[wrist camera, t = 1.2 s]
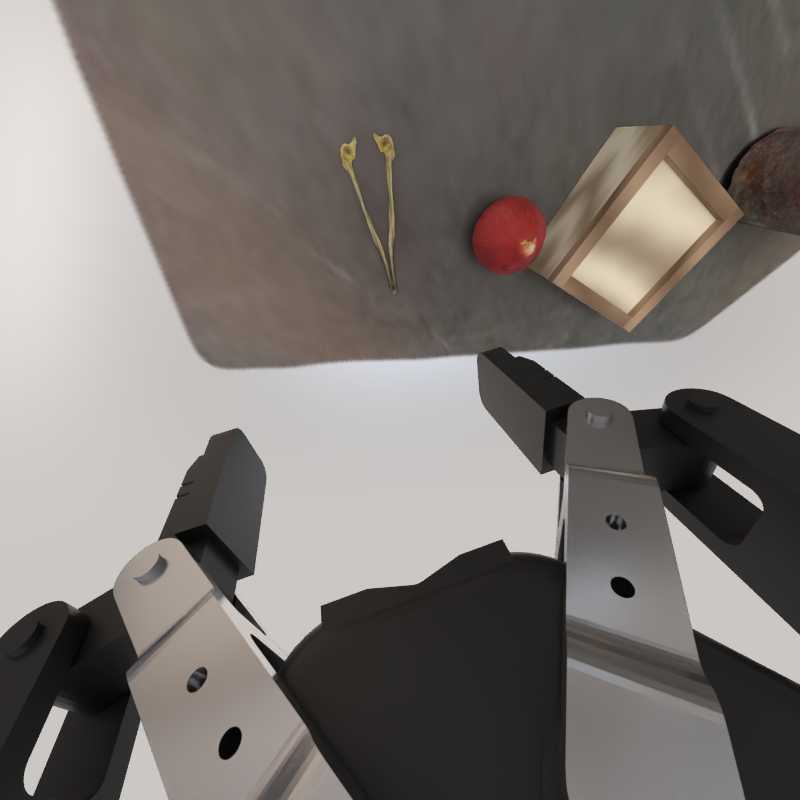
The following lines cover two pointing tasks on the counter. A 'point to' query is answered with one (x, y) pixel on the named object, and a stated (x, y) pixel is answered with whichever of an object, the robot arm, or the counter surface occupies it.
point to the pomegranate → (509, 235)
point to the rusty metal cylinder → (770, 182)
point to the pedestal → (635, 223)
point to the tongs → (390, 154)
